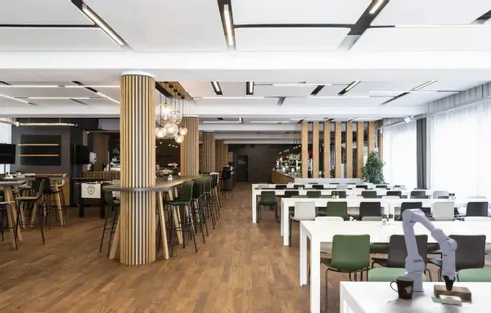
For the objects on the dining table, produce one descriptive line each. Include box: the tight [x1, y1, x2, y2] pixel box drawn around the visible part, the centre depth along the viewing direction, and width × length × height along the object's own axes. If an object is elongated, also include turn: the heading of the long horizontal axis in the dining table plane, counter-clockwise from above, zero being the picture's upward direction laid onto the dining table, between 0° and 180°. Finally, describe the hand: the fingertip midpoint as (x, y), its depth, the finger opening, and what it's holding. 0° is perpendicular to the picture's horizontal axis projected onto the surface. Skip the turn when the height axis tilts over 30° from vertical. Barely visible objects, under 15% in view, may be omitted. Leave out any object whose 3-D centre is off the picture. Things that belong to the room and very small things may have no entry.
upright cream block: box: [439, 295, 463, 306], centre depth 193 cm, size 9×6×2 cm, turn 71°
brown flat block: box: [433, 283, 473, 302], centre depth 203 cm, size 16×10×4 cm, turn 71°
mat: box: [430, 296, 441, 304], centre depth 195 cm, size 11×8×1 cm
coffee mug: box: [389, 275, 414, 301], centre depth 200 cm, size 12×9×10 cm
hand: (449, 290), depth 196 cm, fingers closed
